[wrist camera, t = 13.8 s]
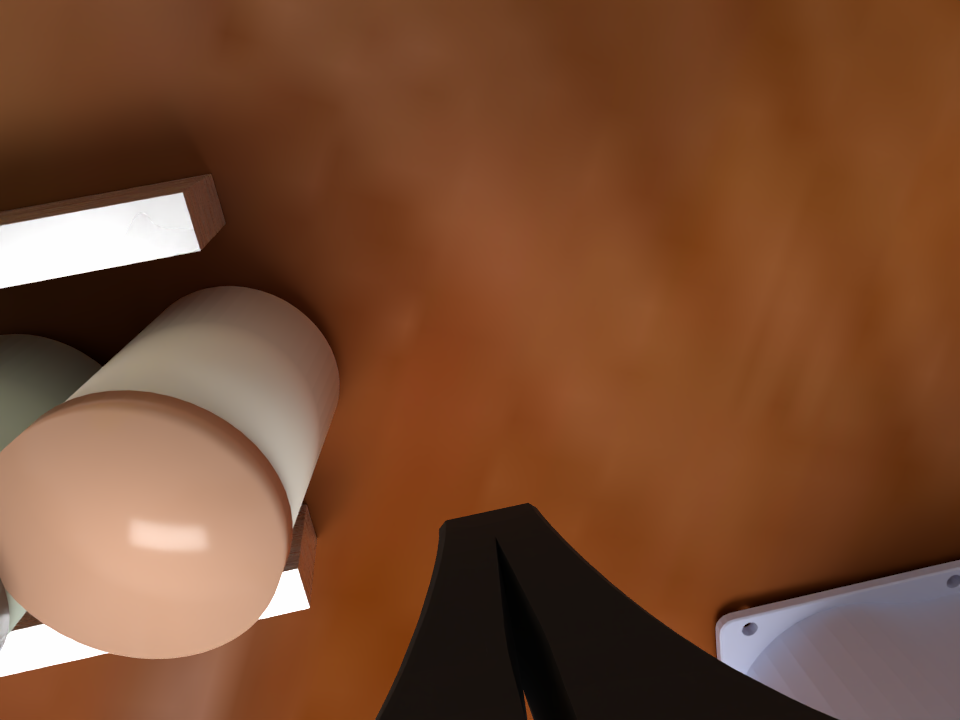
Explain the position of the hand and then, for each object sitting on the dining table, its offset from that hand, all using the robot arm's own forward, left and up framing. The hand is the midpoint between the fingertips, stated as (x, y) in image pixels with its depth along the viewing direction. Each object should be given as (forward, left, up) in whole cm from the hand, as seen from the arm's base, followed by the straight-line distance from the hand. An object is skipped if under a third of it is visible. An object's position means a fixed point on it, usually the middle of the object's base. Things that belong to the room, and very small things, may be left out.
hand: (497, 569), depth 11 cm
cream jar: (+5, 0, -10) cm, 11 cm away
